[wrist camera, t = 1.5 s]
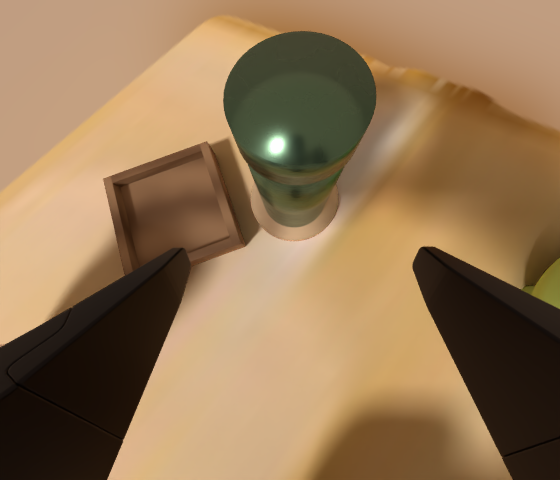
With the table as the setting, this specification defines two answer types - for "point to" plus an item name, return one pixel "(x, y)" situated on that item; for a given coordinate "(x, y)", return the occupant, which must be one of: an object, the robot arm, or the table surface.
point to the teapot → (547, 285)
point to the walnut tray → (173, 209)
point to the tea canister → (298, 118)
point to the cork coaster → (293, 232)
